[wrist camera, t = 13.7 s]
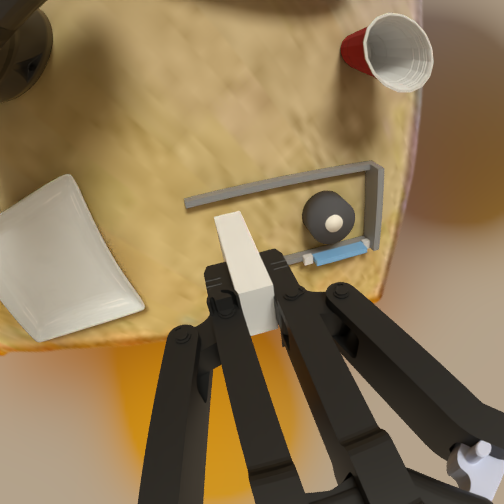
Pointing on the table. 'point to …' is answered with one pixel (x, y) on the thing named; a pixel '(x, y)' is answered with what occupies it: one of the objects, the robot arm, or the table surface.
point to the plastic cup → (391, 52)
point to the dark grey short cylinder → (328, 217)
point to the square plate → (59, 265)
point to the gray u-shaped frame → (371, 188)
